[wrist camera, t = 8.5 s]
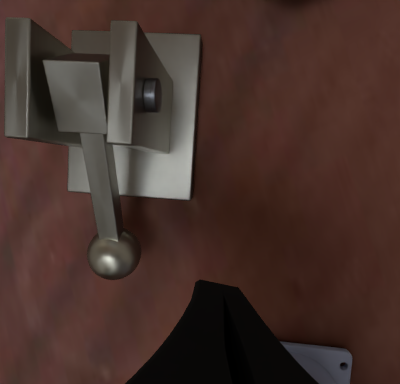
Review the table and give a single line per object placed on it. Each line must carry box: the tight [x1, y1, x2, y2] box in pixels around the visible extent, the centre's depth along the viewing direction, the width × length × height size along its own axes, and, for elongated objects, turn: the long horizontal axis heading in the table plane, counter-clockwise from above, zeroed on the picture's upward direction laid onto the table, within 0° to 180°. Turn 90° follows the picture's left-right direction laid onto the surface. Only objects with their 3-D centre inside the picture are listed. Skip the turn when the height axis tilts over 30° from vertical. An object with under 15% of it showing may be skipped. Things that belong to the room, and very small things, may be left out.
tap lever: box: [43, 53, 141, 280], centre depth 15 cm, size 12×3×3 cm, turn 176°
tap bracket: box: [4, 18, 202, 201], centre depth 15 cm, size 10×8×9 cm
